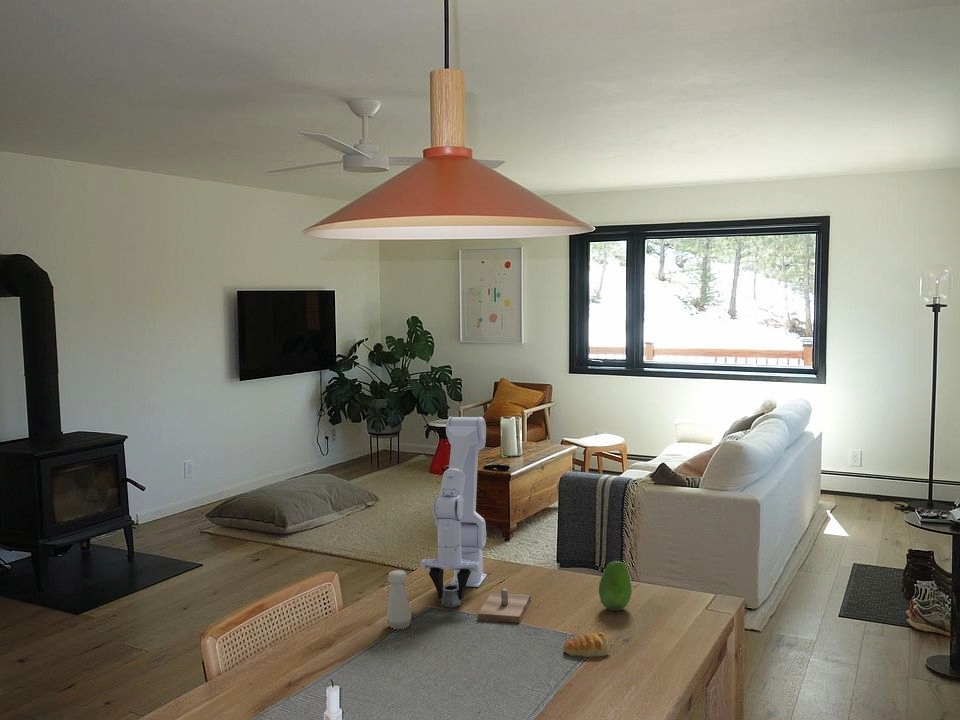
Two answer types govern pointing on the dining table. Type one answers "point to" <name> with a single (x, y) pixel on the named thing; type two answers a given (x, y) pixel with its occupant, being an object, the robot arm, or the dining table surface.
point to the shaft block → (504, 607)
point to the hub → (450, 596)
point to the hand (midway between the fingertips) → (451, 598)
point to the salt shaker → (398, 601)
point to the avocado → (615, 586)
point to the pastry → (587, 645)
